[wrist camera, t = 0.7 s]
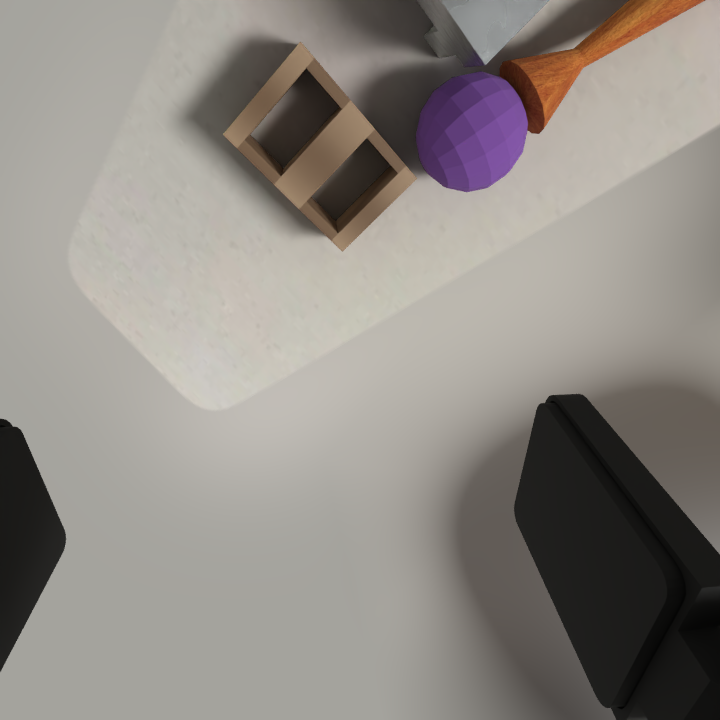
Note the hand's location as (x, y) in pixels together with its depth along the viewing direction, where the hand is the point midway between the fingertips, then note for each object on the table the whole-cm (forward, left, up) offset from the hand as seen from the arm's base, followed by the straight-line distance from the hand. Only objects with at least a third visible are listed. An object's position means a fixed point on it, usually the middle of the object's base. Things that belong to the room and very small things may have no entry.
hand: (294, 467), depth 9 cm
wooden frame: (-3, -1, -25) cm, 25 cm away
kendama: (-16, +5, -25) cm, 30 cm away
